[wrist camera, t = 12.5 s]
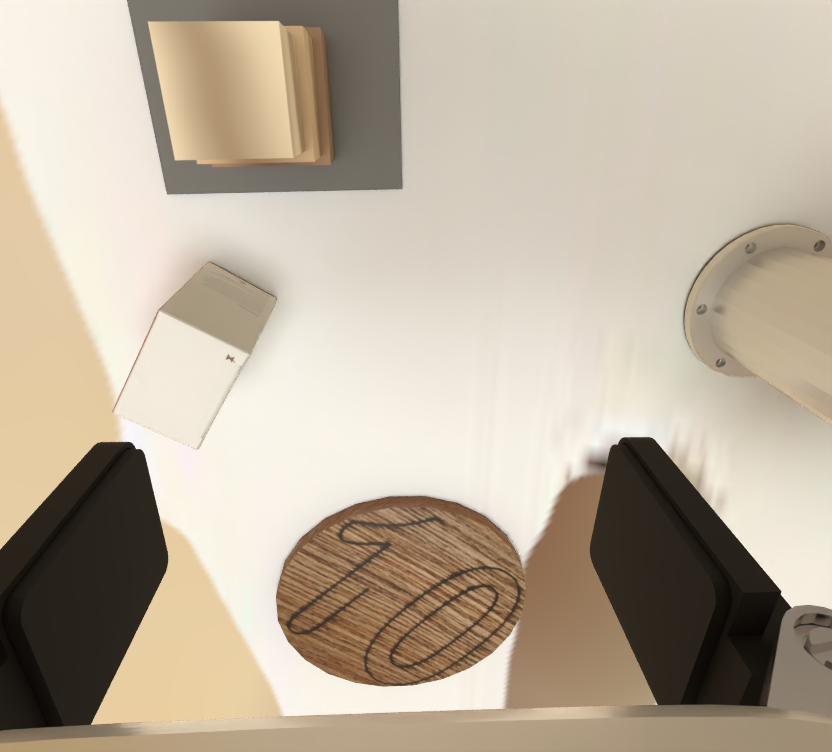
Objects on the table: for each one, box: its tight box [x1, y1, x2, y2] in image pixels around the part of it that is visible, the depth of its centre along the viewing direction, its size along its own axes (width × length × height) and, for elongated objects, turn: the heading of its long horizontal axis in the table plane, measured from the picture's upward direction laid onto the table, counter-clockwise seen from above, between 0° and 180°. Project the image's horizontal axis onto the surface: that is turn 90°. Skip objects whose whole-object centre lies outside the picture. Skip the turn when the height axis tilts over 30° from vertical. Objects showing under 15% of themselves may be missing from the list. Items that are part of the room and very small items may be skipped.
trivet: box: [276, 496, 526, 686], centre depth 55 cm, size 25×25×2 cm
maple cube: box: [148, 21, 305, 160], centre depth 24 cm, size 5×5×5 cm
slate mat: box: [127, 0, 402, 194], centre depth 35 cm, size 16×11×1 cm
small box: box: [112, 262, 277, 450], centre depth 36 cm, size 8×6×10 cm
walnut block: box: [212, 27, 335, 167], centre depth 33 cm, size 7×7×4 cm
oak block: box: [197, 26, 322, 164], centre depth 29 cm, size 6×6×4 cm
